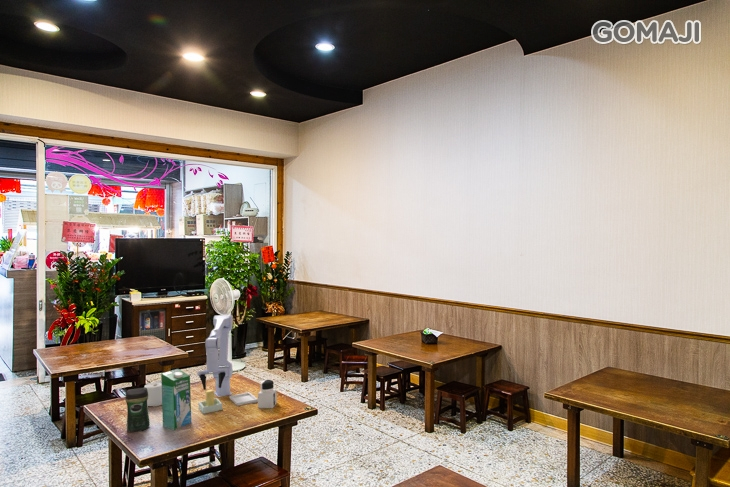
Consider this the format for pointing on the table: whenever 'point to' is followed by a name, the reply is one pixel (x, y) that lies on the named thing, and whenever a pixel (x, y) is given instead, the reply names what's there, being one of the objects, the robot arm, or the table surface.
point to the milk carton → (176, 399)
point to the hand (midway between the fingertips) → (212, 388)
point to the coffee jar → (137, 409)
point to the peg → (210, 397)
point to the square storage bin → (210, 408)
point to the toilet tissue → (154, 393)
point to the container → (267, 395)
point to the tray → (243, 398)
